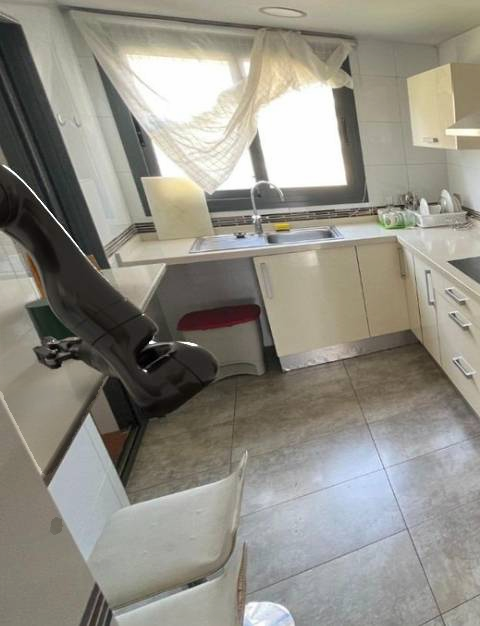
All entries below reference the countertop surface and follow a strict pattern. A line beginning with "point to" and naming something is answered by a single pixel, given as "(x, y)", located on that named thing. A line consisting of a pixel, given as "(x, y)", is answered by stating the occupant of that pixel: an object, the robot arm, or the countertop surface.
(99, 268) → the flap
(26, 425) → the countertop surface
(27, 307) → the tea tin
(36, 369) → the countertop surface
